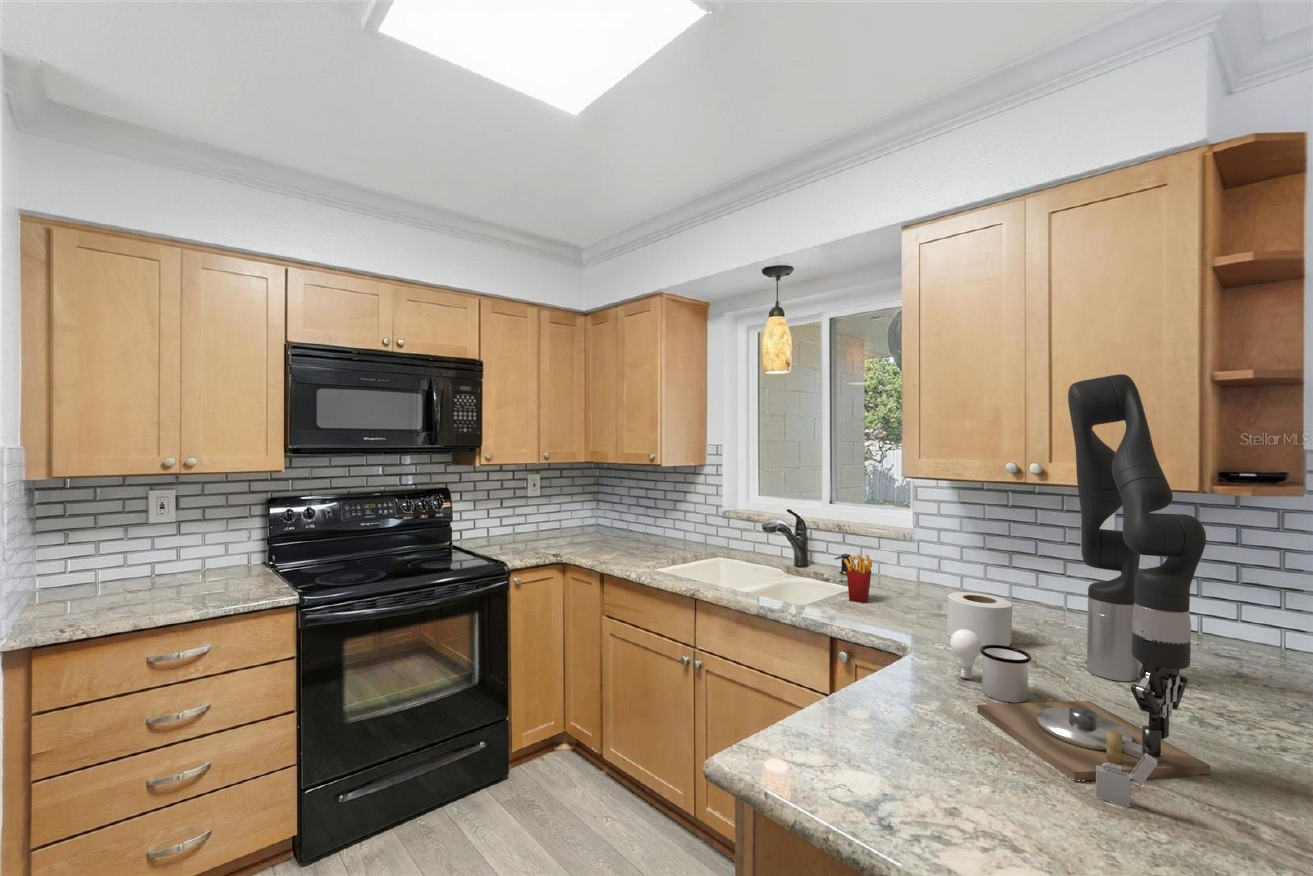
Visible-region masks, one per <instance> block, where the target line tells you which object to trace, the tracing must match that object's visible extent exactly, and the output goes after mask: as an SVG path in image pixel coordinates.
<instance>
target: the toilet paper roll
mask: <svg viewBox="0 0 1313 876" xmlns="http://www.w3.org/2000/svg"><path fill="white" fill-rule="evenodd" d="M946 619H947V620H946V621H947V622H946V634H947V636H948V637H949V638H951V636H952V634H953V633H954V632H955V631H957V630H960V629H968V630H971V631H973V632H974V633H976V634H977V635H978V637H979V638H980V640H981V643H982V646H985V645H1003V646H1009V645H1010V644H1011V645H1012V628H1013V627H1012V626H1013V603H1012V602H1011V601H1010V600H1008V599H1005V598H1004V597H1003V598H1002V597H999V596H996V595H991V594H984V593H977V592H972V591H971V592H970V591H969V592H967V591H962V592H961V591H956V592H955V591H954V592H951V593H949V594H948V595H947V617H946ZM1011 645H1010V646H1011ZM1010 646H1009V647H1010Z"/></svg>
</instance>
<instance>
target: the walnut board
mask: <svg viewBox="0 0 1313 876" xmlns="http://www.w3.org/2000/svg"><path fill="white" fill-rule="evenodd" d="M1071 707H1080V708H1085V709H1088V710H1091V711H1093V712H1094V713H1096V714H1097V715H1098V716H1101V717H1104V718H1106V719H1109V720H1111V721H1113V722H1115V723H1117V724H1119V725H1121V726H1122V727H1124V728H1125V729H1127V730H1128V731H1129V732H1130V734H1131V735H1132V742H1134V743H1137V744H1139V745H1142V728H1141V727H1139V726H1137V725H1135V724H1133V723H1132V722H1129V721H1128V720H1126V719H1124V718H1122V717H1121V716H1119V715H1116V713H1115V714H1114V713H1113V712H1111V711H1109V710H1108V709H1105V708H1104V707H1102V706H1099V705H1098V704H1096V703H1094V702H1092V701H1090V700H1072V701H1071V700H1070V701H1069V700H1068V701H1045V702H1044V701H1041V702H1021V703H988V704H984V703H983V704H977V707H976V708H977V713H978V714H979V715H980V714H981V717H983V718H985V719H986V720H987V719H988V721H989V722H991V723H992V724H993V723H994V724H995V725H994V724H993V725H994V726H996V727H997V728H999V729H1000V730H1001V729H1002V730H1001V731H1003V732H1004V733H1006V734H1007V735H1008V736H1010V737H1011V738H1012V739H1014V740H1015V741H1017V742H1018V743H1019V744H1021V745H1023V746H1024V747H1025V748H1027V749H1028V750H1029V751H1031V752H1033V753H1034V754H1035V755H1037V756H1038V757H1039V756H1040V757H1039V758H1041V759H1042V760H1044V761H1045V762H1046V763H1047V764H1049V765H1050V766H1052V765H1053V766H1054V767H1053V766H1052V767H1053V768H1054V769H1056V770H1057V769H1058V770H1057V771H1059V770H1060V771H1061V772H1060V771H1059V772H1060V773H1061V774H1063V775H1064V774H1066V775H1067V776H1068V777H1067V776H1066V775H1065V776H1066V777H1067V778H1069V779H1070V778H1071V779H1073V780H1074V781H1078V780H1080V781H1078V782H1083V781H1082V780H1096V765H1099V766H1102V764H1104V763H1107V762H1108V763H1112V764H1116V765H1119V766H1121V769H1122V770H1121V772H1125V773H1129V774H1131V772H1132V771H1133V769H1134V768H1135V767H1136V765H1137V764H1138V763H1139V761H1140V760H1141V759H1139V758H1137V757H1134V756H1132V755H1130V754H1127V753H1125V752H1123V751H1122V734H1120V733H1118V732H1115V731H1107V751H1101V750H1094V749H1089V748H1085V747H1081V746H1077V745H1074V744H1071V743H1068V742H1065V741H1063V740H1060V739H1058V738H1056V737H1054V736H1052V735H1050V734H1048V733H1047V732H1045V731H1044V730H1043V729H1041V728H1040V727H1039V725H1038V724H1037V713H1038V712H1039V711H1040V710H1043V709H1047V708H1066V709H1070V708H1071ZM1161 754H1163V761H1161V762H1158V764H1157V766H1156V767H1155V768H1154V770H1153V771H1152V772H1151V774H1150V775H1149V776H1148V777H1147V779H1150V778H1151V779H1152V778H1154V779H1155V778H1168V777H1169V778H1172V777H1188V776H1187V775H1190V776H1189V777H1191V775H1192V776H1201V775H1200V774H1210V775H1211V765H1210V764H1209V763H1206V762H1204V761H1203V760H1201V759H1199V758H1197V757H1195V756H1194V755H1191V754H1190V753H1188V752H1186V751H1184V750H1182V749H1180V748H1179V747H1176V746H1175V745H1172V744H1171V743H1170V742H1167V741H1165V740H1164V739H1161ZM1071 779H1070V780H1071ZM1073 780H1072V781H1073ZM1074 781H1073V782H1074Z"/></svg>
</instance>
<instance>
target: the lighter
mask: <svg viewBox="0 0 1313 876" xmlns="http://www.w3.org/2000/svg"><path fill="white" fill-rule="evenodd" d="M1157 764H1158V763H1157V760H1156V759H1155V758H1153V757H1152V756H1150V755H1148V754H1147V753H1146V754H1145V755H1144V756H1143V757H1142V759H1141V760H1140V761H1139V763H1138V764H1137V765H1136V767H1135V768H1134V769H1133V771H1132V772H1131V774H1129V773H1125V772H1121V770H1122V769H1121V766H1119V765H1116V764H1112V763H1108V762H1107V763H1104V764H1102V766H1099V765H1096V781H1095V798H1096V797H1099V798H1102V799H1104V800H1107V801H1112V802H1114V803H1117V804H1116V805H1118V804H1119V805H1118V806H1121V805H1122V806H1121V807H1125V806H1127V807H1126V808H1128V807H1130V808H1131V791H1132V781H1134V782H1135V783H1137V784H1138V785H1140V786H1142V785H1143V784H1144V783H1145V781H1146V780H1147V779H1148V778H1147V777H1148V776H1149V775H1150V774H1151V772H1152V771H1153V770H1154V768H1155V767H1156V766H1157ZM1104 800H1103V801H1104ZM1107 801H1106V802H1107ZM1114 803H1113V804H1114Z"/></svg>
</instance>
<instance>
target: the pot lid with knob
mask: <svg viewBox="0 0 1313 876" xmlns="http://www.w3.org/2000/svg"><path fill="white" fill-rule="evenodd" d="M1037 724H1038V725H1039V727H1040V728H1041V729H1043V730H1044V731H1045V732H1047V733H1048V734H1050V735H1052V736H1054V737H1056V738H1058V739H1060V740H1063V741H1065V742H1068V743H1071V744H1074V745H1077V746H1081V747H1085V748H1089V749H1094V750H1101V751H1107V731H1115V732H1118V733H1120V734H1122V751H1123V752H1125V753H1127V754H1130V755H1132V756H1134V757H1137V758H1139V759H1142V757H1143V756H1144V755H1145V754H1146V753H1147V754H1148V755H1150V756H1152V757H1153V758H1155V759H1156V760H1157V763H1158V762H1161V761H1163V754H1161V730H1160V729H1158V728H1156V727H1152V726H1149V725H1143V726H1142V728H1141V729H1142V745H1139V744H1137V743H1134V742H1132V735H1131V734H1130V732H1129V731H1128V730H1127V729H1125V728H1124V727H1122V726H1121V725H1119V724H1117V723H1115V722H1113V721H1111V720H1109V719H1106V718H1104V717H1101V716H1098V715H1097V714H1096V713H1094V712H1093V711H1091V710H1088V709H1085V708H1080V707H1071V708H1070V709H1066V708H1047V709H1043V710H1040V711H1039V712H1038V713H1037Z"/></svg>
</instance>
